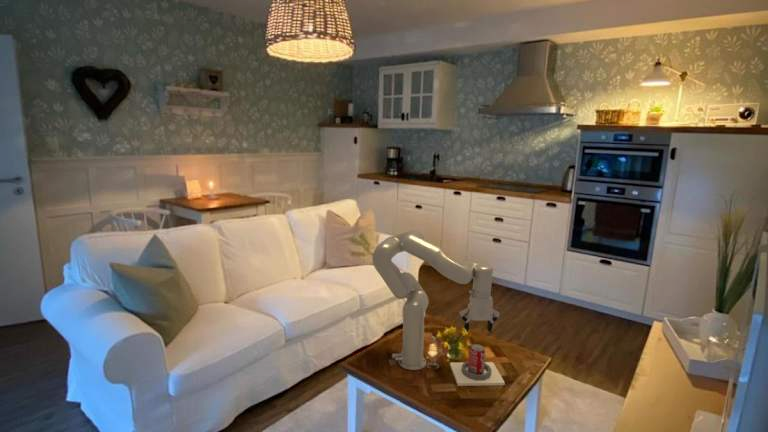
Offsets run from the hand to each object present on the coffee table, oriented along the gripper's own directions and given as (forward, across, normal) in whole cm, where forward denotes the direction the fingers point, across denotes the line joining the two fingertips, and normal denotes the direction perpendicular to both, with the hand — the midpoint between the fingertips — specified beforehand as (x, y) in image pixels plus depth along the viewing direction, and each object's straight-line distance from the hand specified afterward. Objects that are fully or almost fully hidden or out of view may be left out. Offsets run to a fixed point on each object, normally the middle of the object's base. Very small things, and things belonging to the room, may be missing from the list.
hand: (478, 330), depth 175 cm
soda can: (+20, 0, 0) cm, 20 cm away
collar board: (+21, +1, 0) cm, 21 cm away
